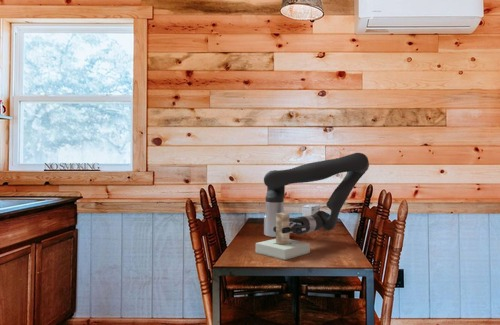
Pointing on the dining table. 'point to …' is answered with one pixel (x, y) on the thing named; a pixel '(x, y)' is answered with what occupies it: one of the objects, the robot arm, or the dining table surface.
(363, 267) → the dining table surface
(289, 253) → the socket block
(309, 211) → the light bulb box
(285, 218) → the peg
